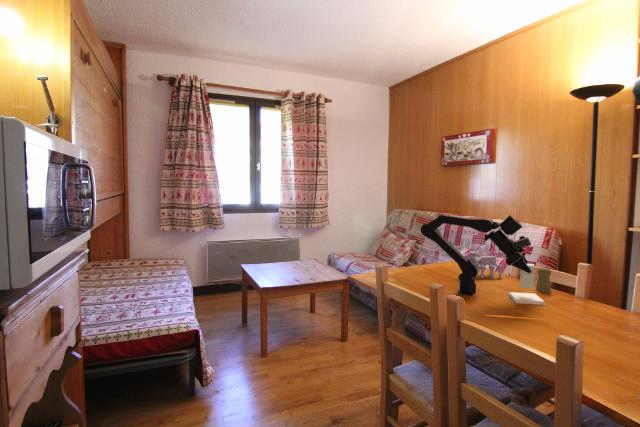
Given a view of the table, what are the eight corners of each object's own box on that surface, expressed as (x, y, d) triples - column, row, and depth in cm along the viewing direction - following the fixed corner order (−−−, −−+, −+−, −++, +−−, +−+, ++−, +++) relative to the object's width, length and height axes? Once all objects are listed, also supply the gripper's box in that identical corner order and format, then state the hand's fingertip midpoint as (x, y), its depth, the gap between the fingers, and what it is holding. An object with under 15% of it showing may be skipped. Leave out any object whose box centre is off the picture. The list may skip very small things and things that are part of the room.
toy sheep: (467, 279, 180) (467, 253, 180) (457, 275, 191) (457, 250, 191) (504, 278, 182) (504, 252, 181) (493, 274, 192) (493, 249, 192)
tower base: (514, 307, 142) (514, 303, 142) (506, 298, 153) (506, 294, 153) (547, 309, 139) (547, 305, 139) (536, 299, 151) (536, 296, 150)
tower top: (516, 303, 142) (516, 299, 142) (509, 295, 152) (509, 292, 152) (543, 304, 140) (544, 301, 140) (534, 297, 150) (534, 293, 149)
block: (519, 287, 145) (520, 264, 144) (520, 284, 148) (521, 262, 148) (532, 289, 142) (533, 266, 141) (533, 286, 146) (534, 264, 145)
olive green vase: (553, 294, 155) (554, 270, 154) (538, 293, 156) (539, 269, 156) (547, 290, 161) (548, 267, 160) (533, 289, 162) (534, 266, 161)
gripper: (516, 232, 138) (548, 264, 133) (520, 227, 153) (548, 255, 148) (493, 250, 143) (523, 281, 138) (499, 243, 158) (526, 271, 153)
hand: (531, 271), depth 144 cm, fingers closed on block, 4 cm apart
